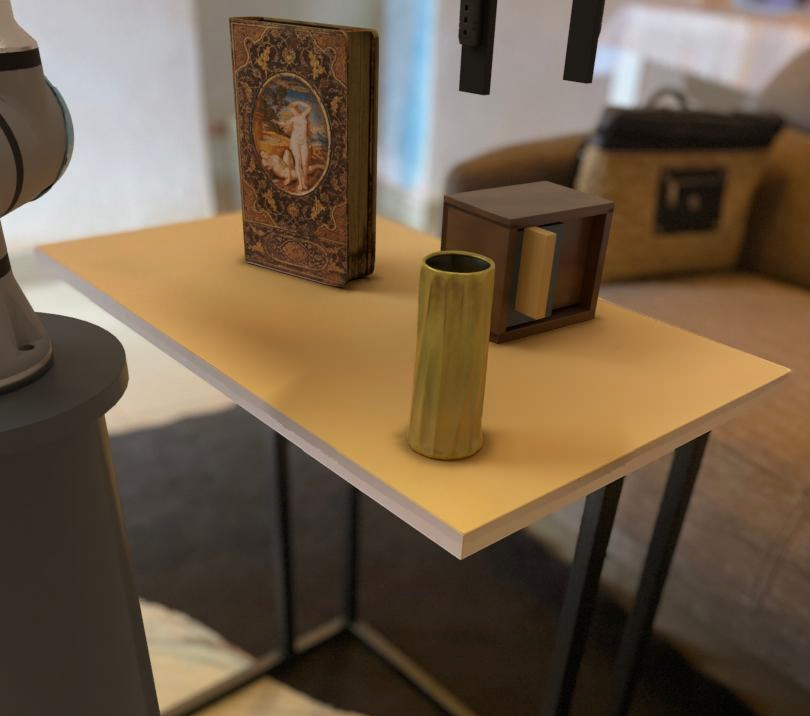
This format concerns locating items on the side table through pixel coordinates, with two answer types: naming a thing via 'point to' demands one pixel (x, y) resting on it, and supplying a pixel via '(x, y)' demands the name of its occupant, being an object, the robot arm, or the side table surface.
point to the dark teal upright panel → (534, 273)
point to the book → (307, 145)
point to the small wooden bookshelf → (496, 239)
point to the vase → (451, 354)
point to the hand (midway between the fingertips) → (528, 87)
